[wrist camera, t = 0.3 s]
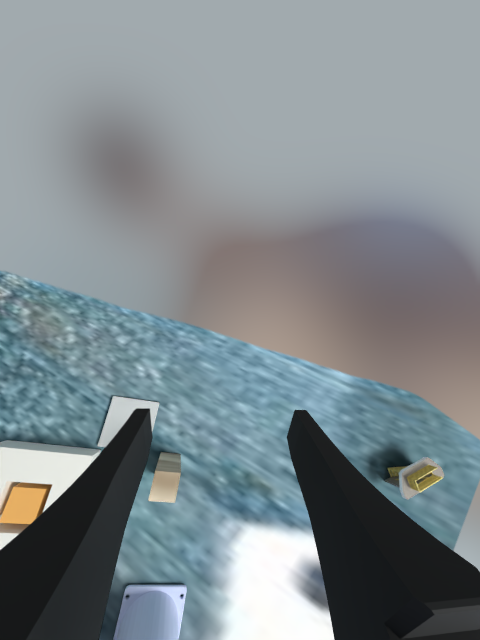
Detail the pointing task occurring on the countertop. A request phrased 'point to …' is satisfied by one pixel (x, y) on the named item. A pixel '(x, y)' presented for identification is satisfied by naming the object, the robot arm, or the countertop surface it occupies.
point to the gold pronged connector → (415, 476)
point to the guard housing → (38, 473)
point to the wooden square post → (166, 478)
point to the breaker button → (25, 503)
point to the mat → (123, 416)
